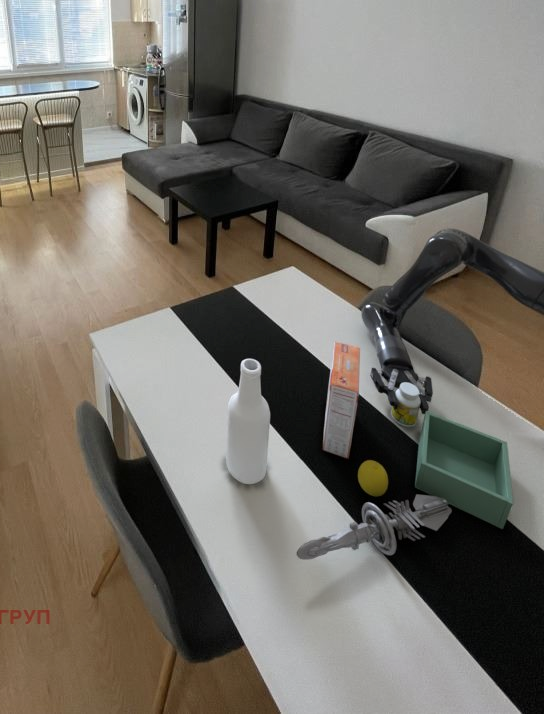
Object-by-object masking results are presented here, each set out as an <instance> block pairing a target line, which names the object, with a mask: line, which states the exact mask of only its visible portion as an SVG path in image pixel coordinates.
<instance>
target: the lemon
mask: <svg viewBox="0 0 544 714" xmlns="http://www.w3.org/2000/svg"><path fill="white" fill-rule="evenodd" d="M388 477H389V476H388V473H387V471H386V469H385V468H384V466H383V465H382V464H380V462H378V461H375V460H372V459H367V460H365V461H364V462H362V463H361V464H360V466H359V468H358V471H357V480H358V483H359V485H360V487H361V489H362V490H363V491H364V492H365V493H366V494H368V495H369V496H371V497H381V496H383V495H385V493H386V491H387V490H388V486H389V478H388Z"/></svg>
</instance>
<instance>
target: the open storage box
mask: <svg viewBox="0 0 544 714" xmlns="http://www.w3.org/2000/svg"><path fill="white" fill-rule="evenodd" d="M418 439H419V441H418V448H417V449H418V450H417V459H416V460H417V462H416V472H415V480H414V488H415V489H417V490H419V491H421V492H423V493H426V494H427V495H429V496H437V497H438V498H445V499H446V500H447V503H450V504H449V505H451V506H453V507H455V508H457V509H459V510H461V511H463V512H465V513H468V514H469V515H472V516H474V517H476V518H478V519H480V520H482V521H485V522H487V523H488V524H491V525H493V526H495V527H497V528H498V529H501V530H503V529H504V527H505V525H506V523H507V520H508V518H509V515H510V513H511V511H512V509H513V505H514V499H513V490H512V479H511V470H510V460H509V448H508V442H507V441H505V440H502V439H500V438H497V437H495V436H492V435H489V434H487V433H484V432H482V431H479V430H476V429H474V428H471V427H469V426H467V425H464V424H461V423H458V422H456V421H454V420H451V419H449V418H446V417H443V416H441V415H438V414H436V413H433V412H430V411H429V410H428V411H426V412H425V414H424V417H423V421H422V425H421V428H420V432H419V438H418Z"/></svg>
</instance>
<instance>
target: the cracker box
mask: <svg viewBox="0 0 544 714" xmlns="http://www.w3.org/2000/svg"><path fill="white" fill-rule="evenodd" d="M331 357H332V358H331V363H330V364H331V365H330V372H329V379H328V386H327V387H328V388H327V397H326V406H325V414H324V415H325V416H324V424H323V425H324V426H323V438H322V439H323V440H322V451H324V452H327V453H329V454H332V455H335V456H338V457H341V458H344V459H347V460H349V458H350V452H351V446H352V439H353V432H354V426H355V421H356V415H357V408H358V402H359V397H360V371H361V370H360V369H361V366H360V365H361V364H360V363H361V347H359V346H354V345H350V344H347V343H342V342H338V341H334V343H333V350H332V356H331Z"/></svg>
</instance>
